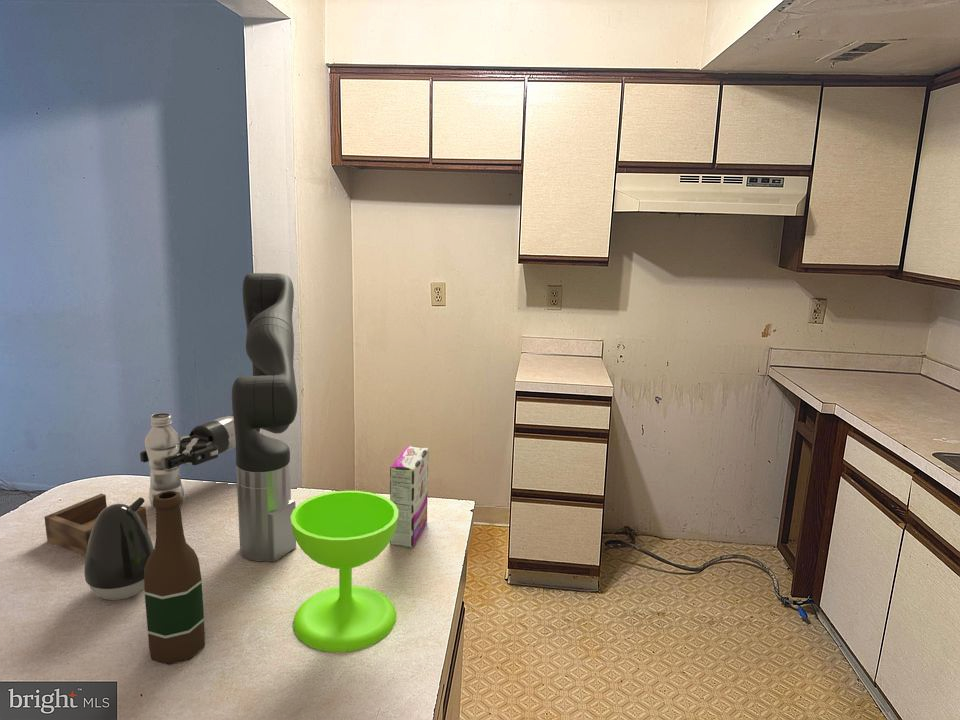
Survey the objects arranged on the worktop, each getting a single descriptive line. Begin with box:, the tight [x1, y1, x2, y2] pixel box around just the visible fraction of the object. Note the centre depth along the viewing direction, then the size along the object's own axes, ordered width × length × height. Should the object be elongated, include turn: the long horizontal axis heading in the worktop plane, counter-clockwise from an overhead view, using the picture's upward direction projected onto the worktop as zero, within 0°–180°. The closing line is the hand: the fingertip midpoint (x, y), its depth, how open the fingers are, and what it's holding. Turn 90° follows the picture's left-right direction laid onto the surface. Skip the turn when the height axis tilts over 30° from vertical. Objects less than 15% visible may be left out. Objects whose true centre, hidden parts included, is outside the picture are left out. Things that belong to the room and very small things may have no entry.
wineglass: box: [290, 490, 399, 653], centre depth 100 cm, size 16×16×18 cm
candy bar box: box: [389, 445, 429, 548], centre depth 127 cm, size 11×5×16 cm, turn 170°
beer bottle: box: [143, 491, 206, 666], centre depth 91 cm, size 8×8×24 cm
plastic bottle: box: [144, 412, 185, 510], centre depth 132 cm, size 6×7×20 cm
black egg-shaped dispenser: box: [83, 496, 155, 601], centre depth 104 cm, size 10×10×15 cm
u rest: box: [43, 493, 149, 556], centre depth 121 cm, size 12×11×5 cm
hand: (154, 461), depth 130 cm, fingers closed on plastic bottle, 6 cm apart
